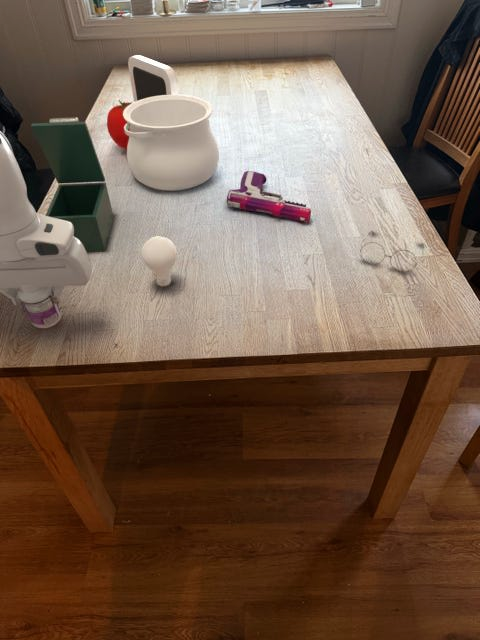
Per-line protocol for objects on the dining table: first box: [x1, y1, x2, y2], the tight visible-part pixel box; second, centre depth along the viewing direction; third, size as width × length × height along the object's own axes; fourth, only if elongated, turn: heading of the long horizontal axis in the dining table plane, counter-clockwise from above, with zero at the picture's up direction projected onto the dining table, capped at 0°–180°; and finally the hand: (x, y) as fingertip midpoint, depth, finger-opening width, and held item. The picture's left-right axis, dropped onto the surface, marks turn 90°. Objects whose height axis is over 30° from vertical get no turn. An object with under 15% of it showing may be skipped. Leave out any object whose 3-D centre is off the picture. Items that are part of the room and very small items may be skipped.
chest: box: [45, 181, 114, 253], centre depth 101 cm, size 15×11×9 cm
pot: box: [123, 94, 220, 192], centre depth 118 cm, size 26×24×17 cm
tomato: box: [106, 99, 134, 151], centre depth 131 cm, size 12×12×13 cm
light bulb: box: [141, 235, 178, 288], centre depth 87 cm, size 7×7×11 cm
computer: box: [127, 54, 180, 103], centre depth 132 cm, size 22×22×3 cm
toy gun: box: [226, 170, 312, 223], centre depth 111 cm, size 4×22×15 cm
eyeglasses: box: [359, 230, 425, 273], centre depth 95 cm, size 11×13×5 cm
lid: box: [30, 117, 106, 185], centre depth 97 cm, size 15×11×5 cm
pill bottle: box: [18, 285, 63, 329], centre depth 78 cm, size 5×5×10 cm
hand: (40, 302), depth 79 cm, fingers closed on pill bottle, 5 cm apart
